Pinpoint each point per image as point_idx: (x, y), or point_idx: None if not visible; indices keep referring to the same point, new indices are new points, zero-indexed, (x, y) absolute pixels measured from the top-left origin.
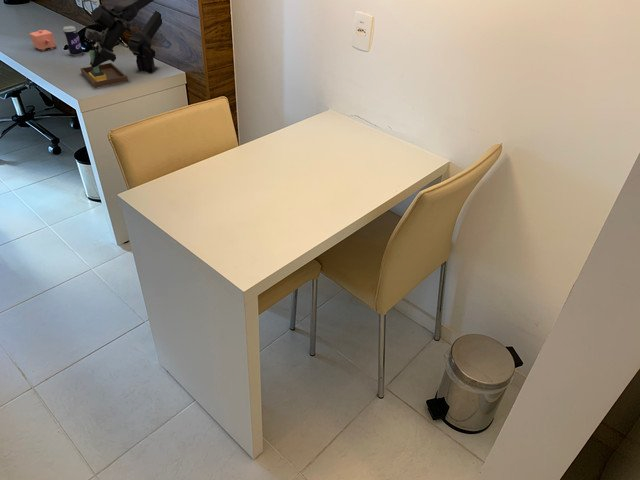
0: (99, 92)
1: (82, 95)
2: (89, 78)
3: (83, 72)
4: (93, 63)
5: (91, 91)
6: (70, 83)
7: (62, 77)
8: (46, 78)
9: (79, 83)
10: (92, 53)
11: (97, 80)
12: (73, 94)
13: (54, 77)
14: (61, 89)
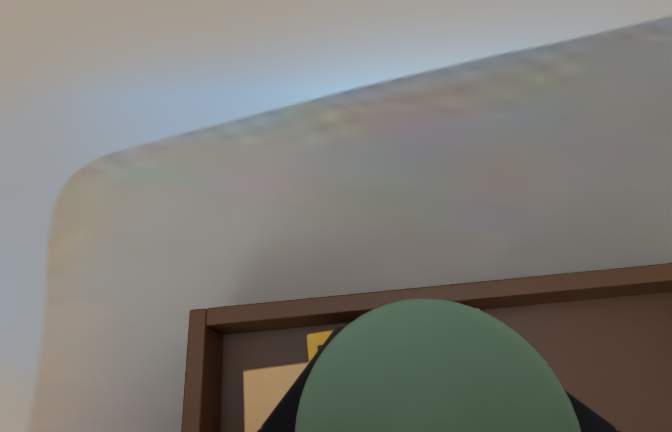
0: (107, 338)
1: (142, 197)
2: (366, 294)
3: (611, 271)
4: (309, 370)
5: (179, 276)
6: (461, 154)
7: (636, 119)
8: (638, 29)
9: (431, 217)
10: (306, 420)
11: (300, 373)
12: (206, 144)
13: (650, 72)
14: (355, 89)
